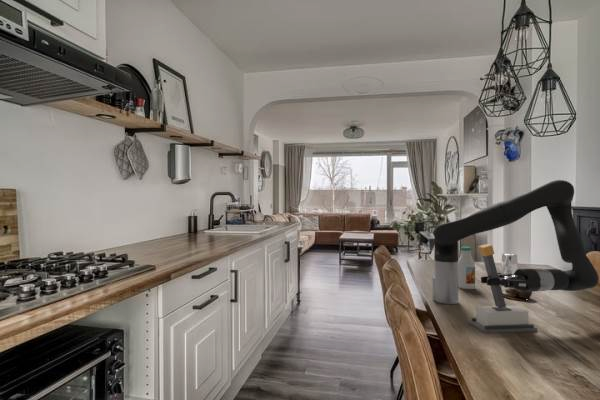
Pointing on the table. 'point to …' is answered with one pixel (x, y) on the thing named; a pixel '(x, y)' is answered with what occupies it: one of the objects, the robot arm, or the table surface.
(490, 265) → the lever
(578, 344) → the table surface
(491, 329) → the breaker base
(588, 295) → the table surface
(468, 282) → the milk bottle
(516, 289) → the skull
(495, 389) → the table surface
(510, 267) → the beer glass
